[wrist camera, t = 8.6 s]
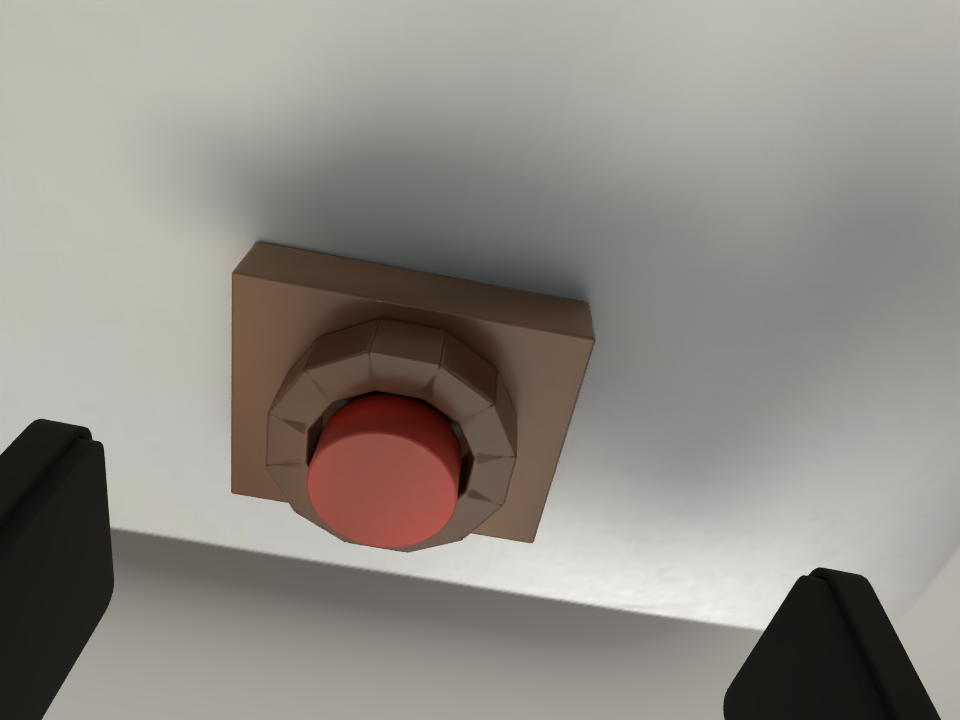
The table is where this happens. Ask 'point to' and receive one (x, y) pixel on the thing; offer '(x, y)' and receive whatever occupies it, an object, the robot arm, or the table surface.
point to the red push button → (385, 471)
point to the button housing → (403, 377)
